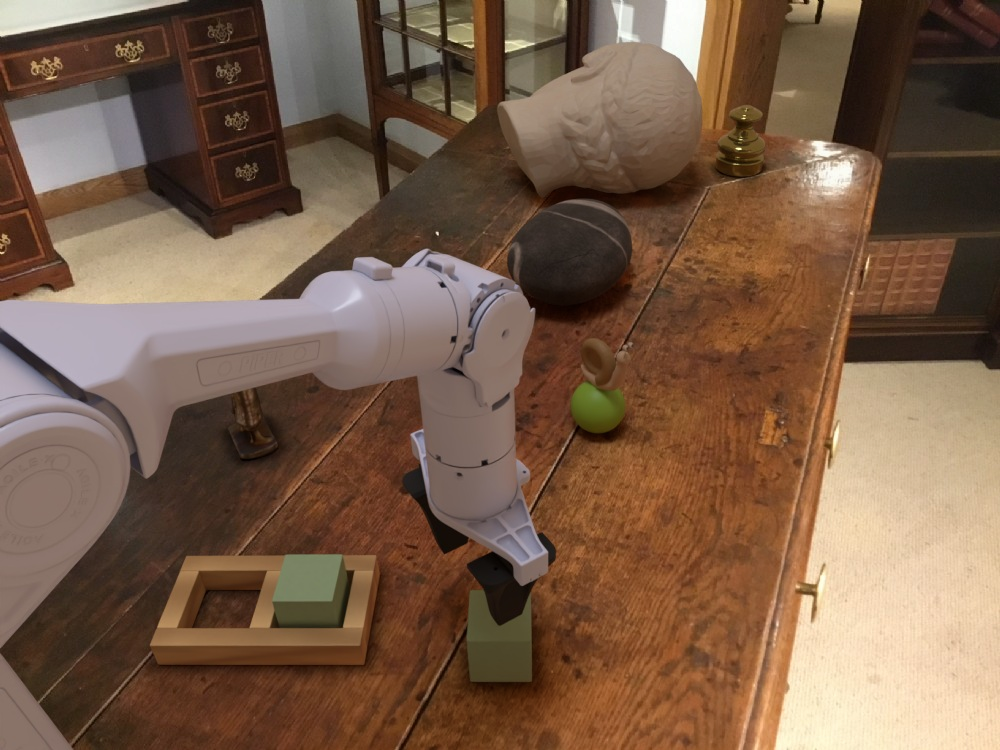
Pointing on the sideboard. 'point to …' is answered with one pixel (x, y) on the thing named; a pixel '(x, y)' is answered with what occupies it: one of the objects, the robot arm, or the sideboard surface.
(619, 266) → the decorative stone
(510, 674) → the olive green cubic block
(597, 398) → the snail figurine
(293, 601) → the green cubic block
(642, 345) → the sideboard surface
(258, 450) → the figurine
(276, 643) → the backing frame
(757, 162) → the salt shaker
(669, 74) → the bust
